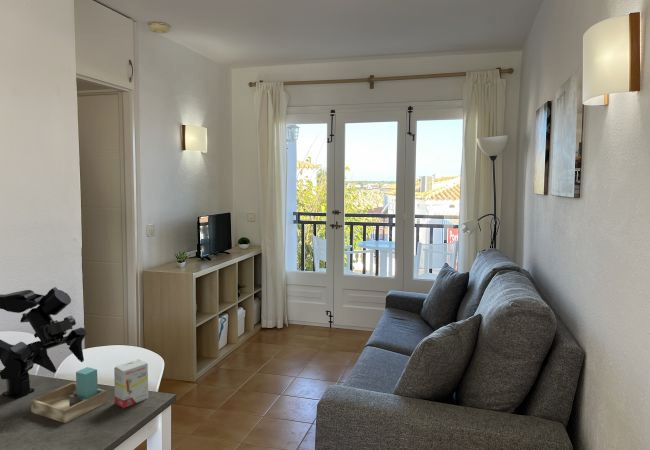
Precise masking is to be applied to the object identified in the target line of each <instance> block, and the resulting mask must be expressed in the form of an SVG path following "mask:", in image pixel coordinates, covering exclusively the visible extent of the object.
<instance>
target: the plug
mask: <svg viewBox="0 0 650 450" xmlns="http://www.w3.org/2000/svg"><path fill="white" fill-rule="evenodd" d="M75 382H76V389H77V397H80V398H83V399H87V398H89V397H91V396H94V395H96V394H98V389H99V387H98V369H96V368H92V367H88V366H87V367H84V368H82V369H80V370H77V371H75Z"/></svg>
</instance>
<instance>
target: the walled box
mask: <svg viewBox="0 0 650 450" xmlns="http://www.w3.org/2000/svg"><path fill="white" fill-rule="evenodd" d="M107 395H108V394H107V390H104V389H101V388H98V394H96V395H94V396H91V397H89V398H87V399H83V398H80V397H77V389H76V381H72V382H70V383H68V384H65V385H63V386H61V387H59V388H56V389H54V390H52V391H49V392H48V393H45V394H42V395H40V396H38V397H35V398H33V399H31V400H30V413H32V414H36V415H38V416H41V417H44V418H48V419H51V420H54V421H58V422H61V423H63V424H66V423H69V422H71V421H73V420H75V419H76V418H78V417H80V416H82V415H84V414H86V413H89V412H91V411H92V410H94V409H96V408H98V407H100V406H103V405H104V404H105V403H107V401H108V400H107Z"/></svg>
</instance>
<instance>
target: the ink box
mask: <svg viewBox="0 0 650 450" xmlns="http://www.w3.org/2000/svg"><path fill="white" fill-rule="evenodd" d="M148 369H149V367H148V363H147V362H146V361H144V360H142V359H135V360H130V361H129V362H126V363H125V362H124V363H121V364H118V365H116V366H115V367H114V369H113V370H114V379H113V381H114V404H115V405H116V406H119V407H121V408H123V409H125V408H126V407H130V406H133V405H135V404H138V403H139V402H142V401H145V400H146V399H149V371H148Z"/></svg>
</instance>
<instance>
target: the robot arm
mask: <svg viewBox="0 0 650 450" xmlns="http://www.w3.org/2000/svg"><path fill="white" fill-rule="evenodd" d="M71 303H72V298H71V297H70V295H69V294H68V292H65V291H63V290H61V289H58V288H57V287H56V286H55V287H52V288H51V289H50V290H48V292H47V293H46V294H45V295H44V294H39V293H35V292H34V291H33V290H31V289H24V290H19V291H15V292H10V293H6V294H0V310H4V311H5V312H9V313H14V314H15V313H16V314H21V313H22V317H21V318H20V320H19V321H20V323H29V324H30V326H31V327H32V329H33V331H34V334H33V336H34V338H35V339H36V338H38V339H39V340H37V341H33V342H30V343H28V344H26V342H24V341H19V342H18V343H16V344H12V343H8V342H7V341H5V340H2V339H0V362H1V365H3V366H4V368H3V369H2V370H1V371H0V378H1V380H5V381H6V391H4V392H2V393H1V395H2V396H5V397H8V398H11V399H18V398H20V397H23V396H26V395H27V394H30V393H32V392H34V391H35V388H34V387H33V388H32V387H31V381H30V374H29V371H30V370H32V369H33V368H34V365H38V366H40V367H42V368H44V369H46V370H48V371H49V372H52V373H53V374H56V373H57V368H56V366H55V365H54V363H53V362H52V359H51V358H50V357H49V354H48V350H49V349H53V348H55V347H58V346H61V345H64V344H66V345H67V346H68V349H69V351H70V352H72V353H71V354H73V355H74V357H76V359H77V360H78V361H79V362H81V363H83V362H84V360H85V358H84V354H83V353H84V352H83V346H82V345H83V344H82V343H83V341H84V339H85V338H86V336H87V335H88V331H87V330H86V329H85V328H84V327H78V328H75V329H73V326H76V324H77V322H76V319H75V317H74V316H73V315H68V316H66V317H63V320H60V321H59V320H54V319H53V317H52V316H57V315H58V314H59V313H60V312H62V311H63V310H64V309H65V308H66V307H68V305H70V304H71ZM27 310H28V312H26V313H25V311H27ZM68 330H71V331H70V332H69V334H68V335H66V334H67V331H68ZM64 335H66V336H64Z"/></svg>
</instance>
